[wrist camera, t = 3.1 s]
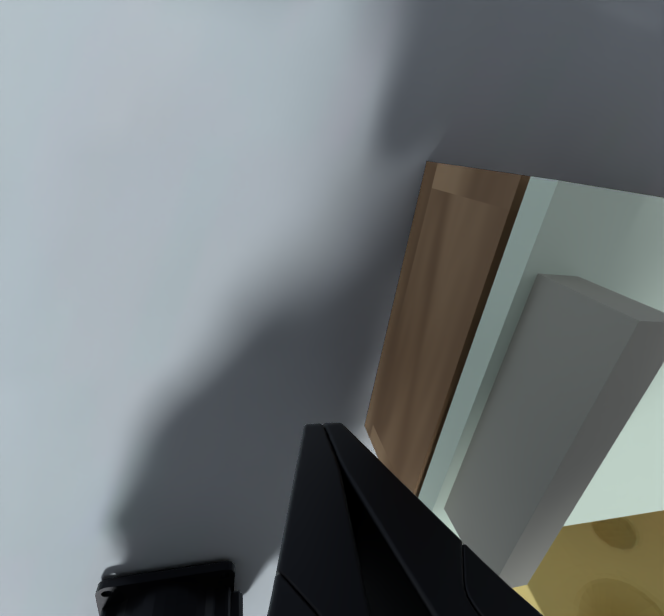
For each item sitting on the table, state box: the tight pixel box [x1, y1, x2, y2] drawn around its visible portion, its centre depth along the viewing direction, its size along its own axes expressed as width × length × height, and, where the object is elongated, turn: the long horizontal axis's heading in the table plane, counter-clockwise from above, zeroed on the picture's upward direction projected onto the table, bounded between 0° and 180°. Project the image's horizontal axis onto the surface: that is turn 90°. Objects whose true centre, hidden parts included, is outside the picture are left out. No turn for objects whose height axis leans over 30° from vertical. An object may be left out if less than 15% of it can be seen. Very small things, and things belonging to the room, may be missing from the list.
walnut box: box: [365, 161, 531, 497], centre depth 14 cm, size 12×12×5 cm
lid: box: [418, 176, 664, 588], centre depth 11 cm, size 12×12×3 cm
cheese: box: [512, 510, 664, 616], centre depth 22 cm, size 10×11×10 cm
